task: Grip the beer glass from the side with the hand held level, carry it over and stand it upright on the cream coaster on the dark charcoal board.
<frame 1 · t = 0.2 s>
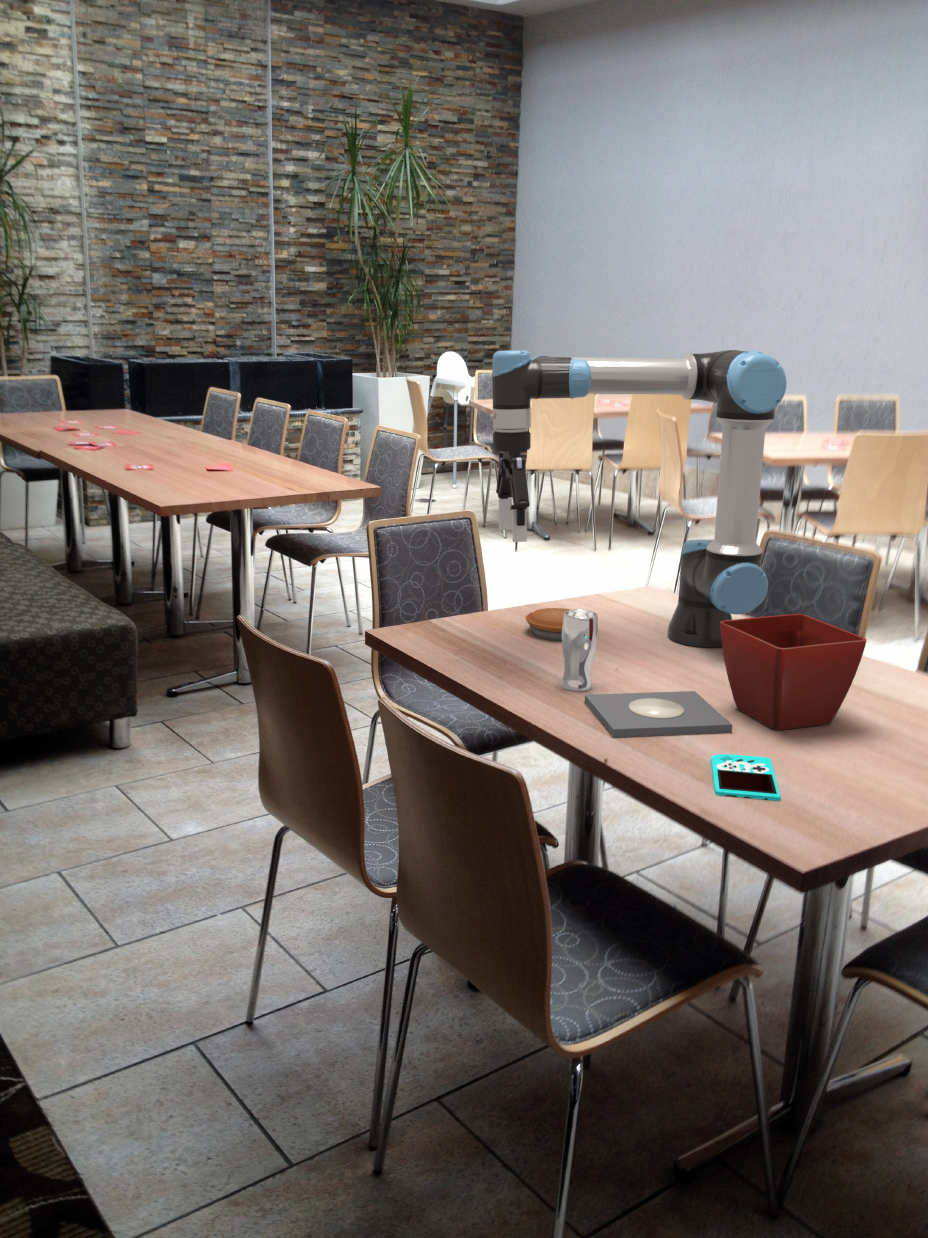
hand: (512, 535, 223), 27 cm above the table, tool pointing down, fingers open, 13 cm apart
serving board: (655, 716, 202), on the table
pie: (558, 634, 253), on the table
plant pot: (781, 717, 204), on the table
beer glass: (576, 687, 217), on the table
handheld game console: (743, 781, 176), on the table
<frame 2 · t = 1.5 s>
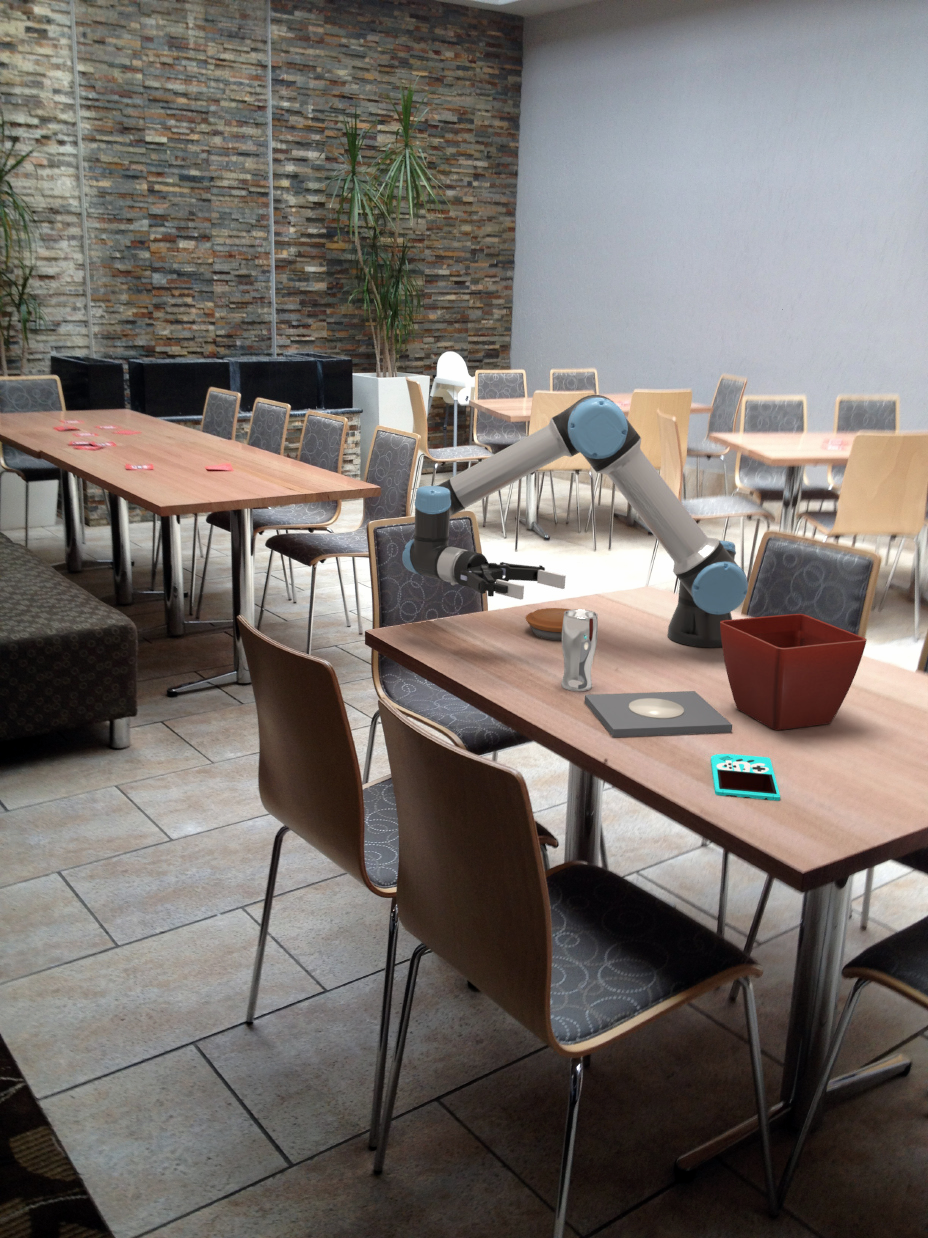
hand: (543, 587, 218), 18 cm above the table, tool horizontal, fingers open, 13 cm apart
nothing on the table moved.
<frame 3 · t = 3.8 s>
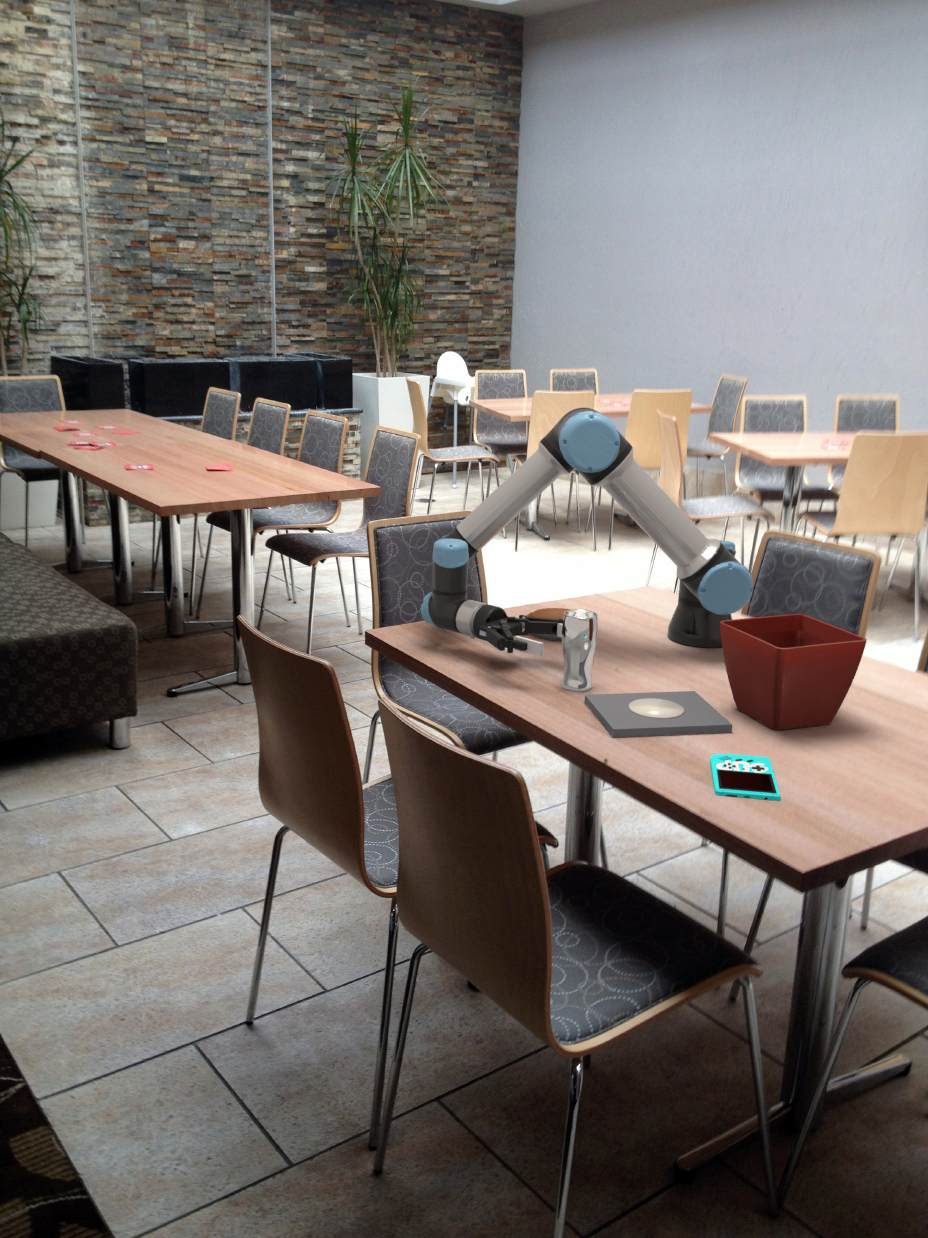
hand: (563, 643, 216), 8 cm above the table, tool horizontal, fingers open, 13 cm apart
nothing on the table moved.
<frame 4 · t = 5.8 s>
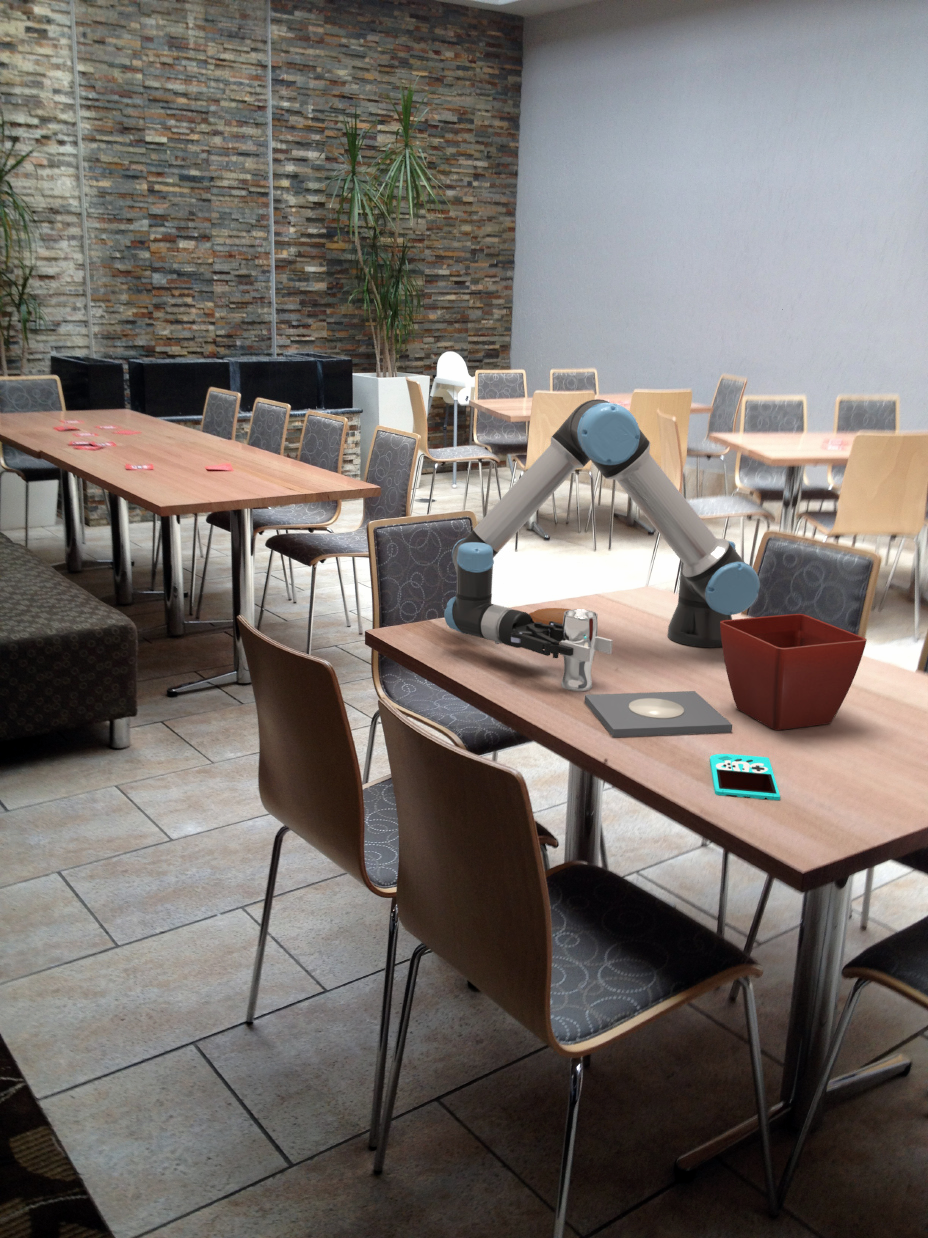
hand: (599, 650, 211), 9 cm above the table, tool horizontal, fingers closed on beer glass, 7 cm apart
beer glass: (576, 687, 217), on the table, touching gripper
everything else where it was.
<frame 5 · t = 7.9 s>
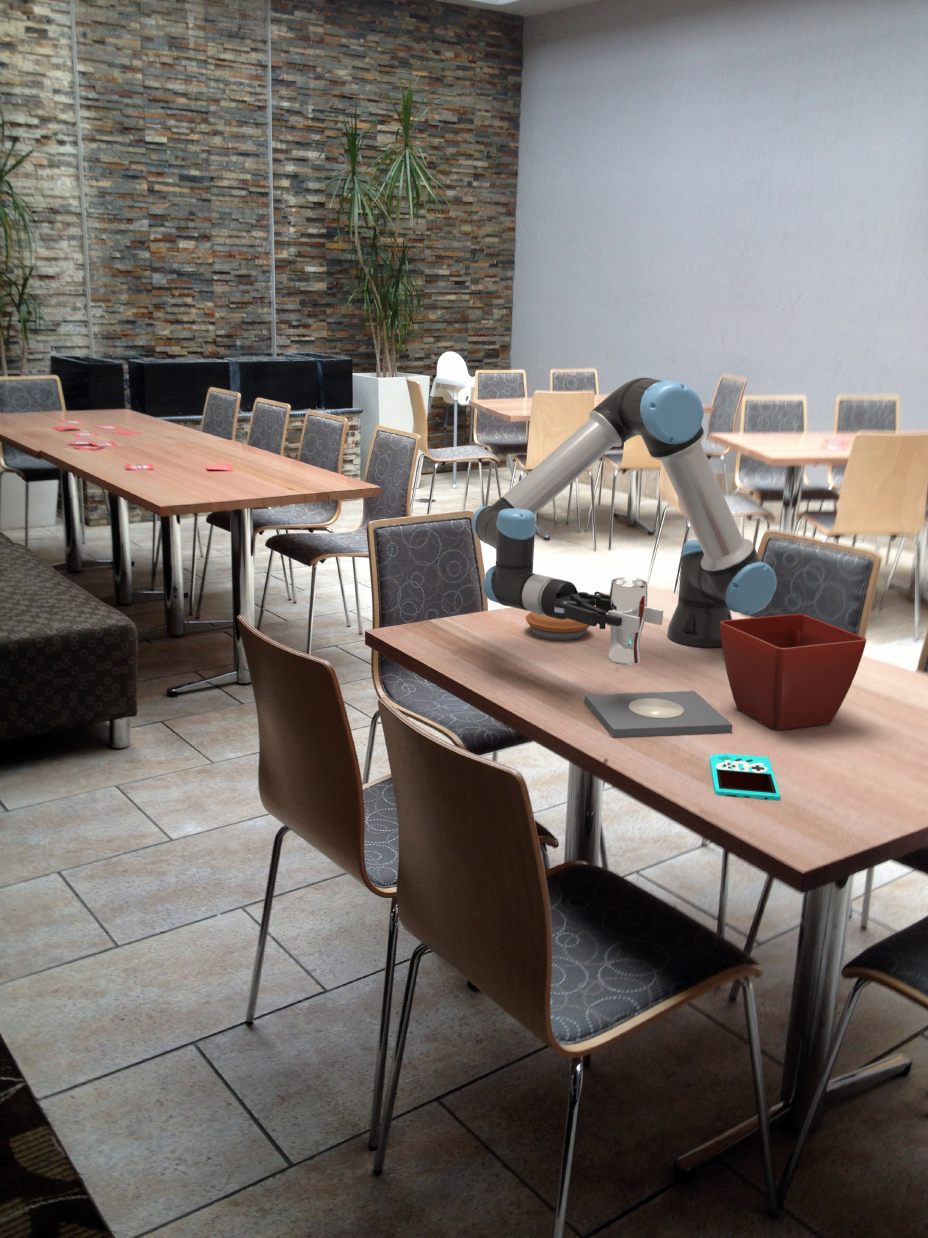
hand: (650, 621, 198), 18 cm above the table, tool horizontal, fingers closed on beer glass, 7 cm apart
beer glass: (623, 661, 204), point 9 cm above the table, touching gripper
everything else where it was.
when the fingers open (12 cm above the table, at t = 9.9 s): beer glass drops 1 cm, resting on serving board.
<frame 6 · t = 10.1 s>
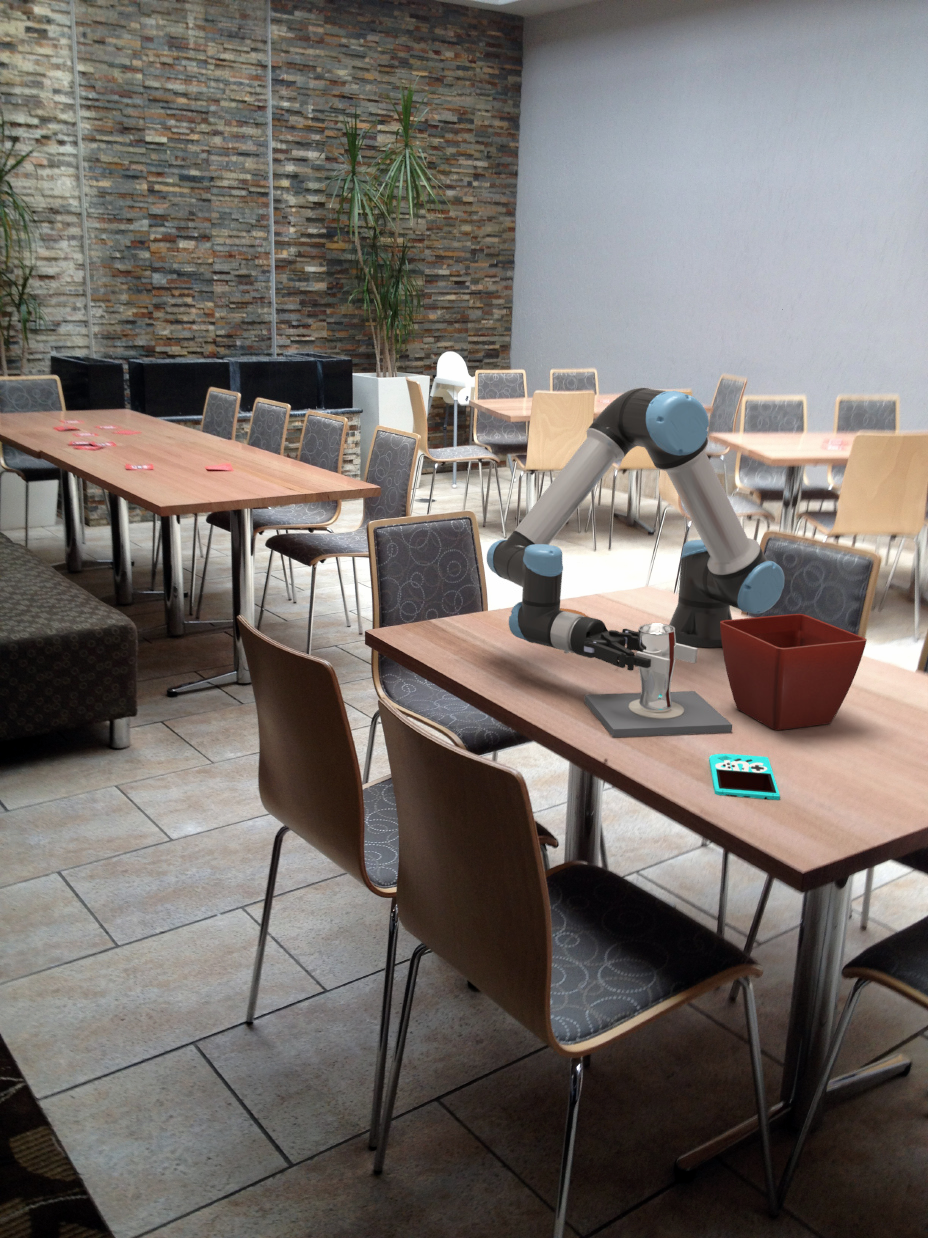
hand: (682, 661, 195), 12 cm above the table, tool horizontal, fingers open, 9 cm apart
beer glass: (655, 707, 201), point 2 cm above the table, touching serving board
everything else where it was.
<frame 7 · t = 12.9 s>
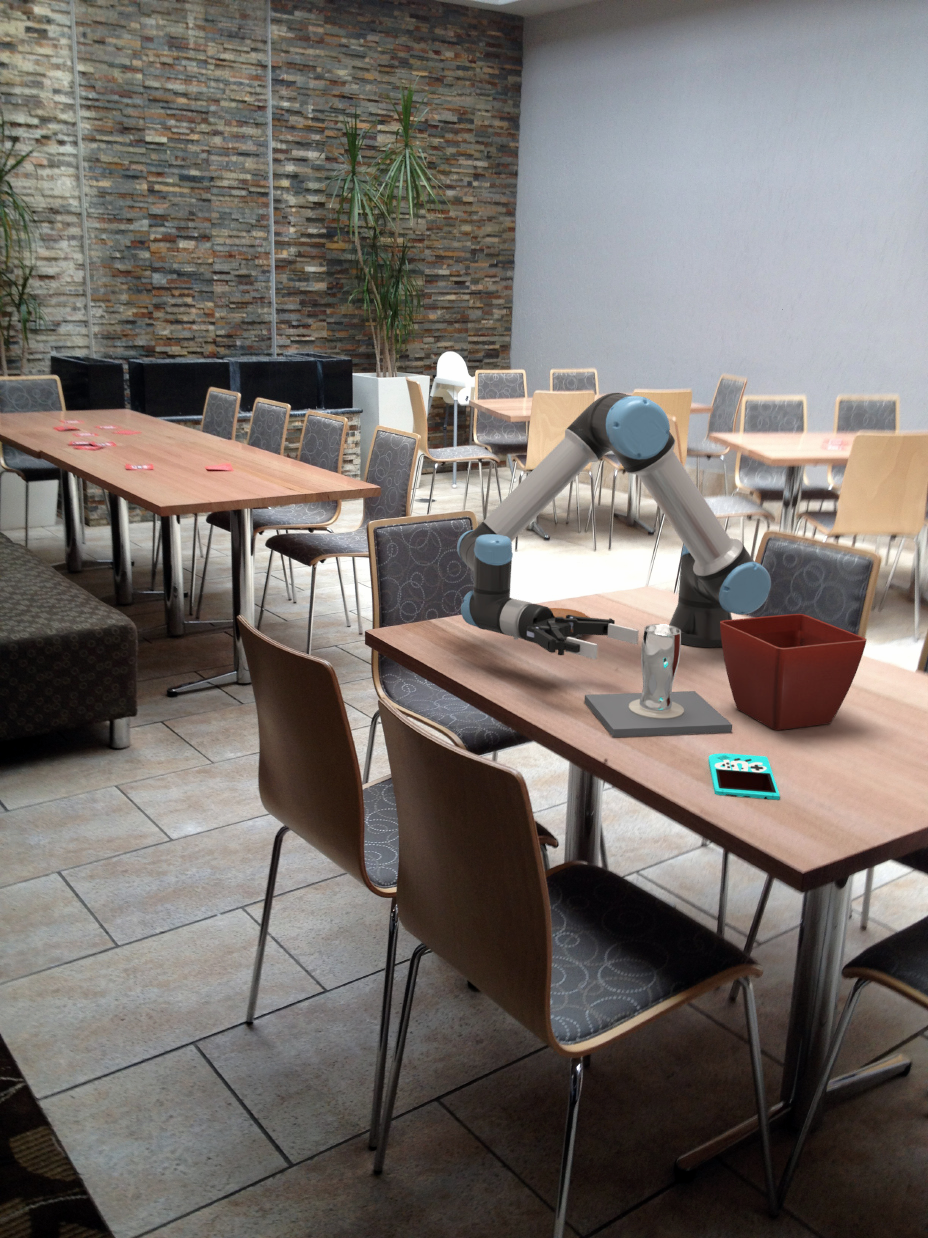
hand: (617, 644, 204), 12 cm above the table, tool horizontal, fingers open, 13 cm apart
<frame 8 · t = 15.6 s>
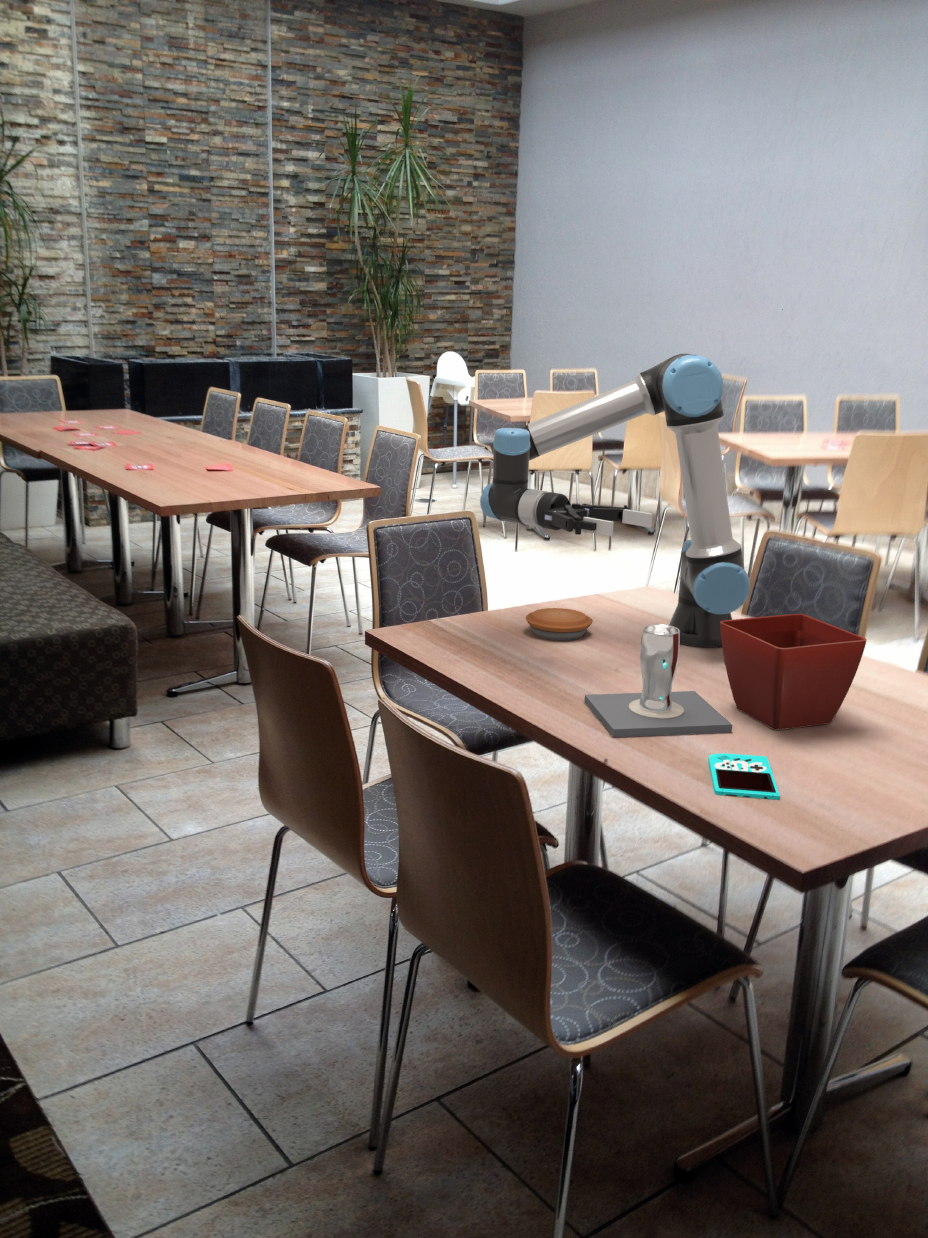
hand: (632, 524, 212), 32 cm above the table, tool horizontal, fingers open, 13 cm apart
nothing on the table moved.
at the end: beer glass inside the target area on the serving board (0.1 cm from its centre), point 1.7 cm above the serving board's base; beer glass tilted 1°; the gripper is holding nothing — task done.
